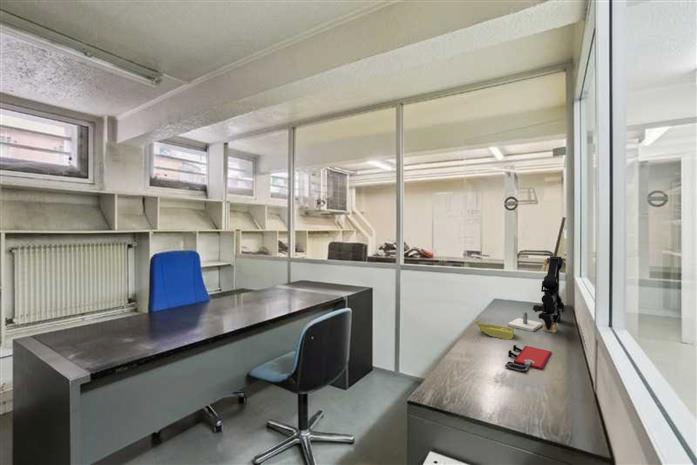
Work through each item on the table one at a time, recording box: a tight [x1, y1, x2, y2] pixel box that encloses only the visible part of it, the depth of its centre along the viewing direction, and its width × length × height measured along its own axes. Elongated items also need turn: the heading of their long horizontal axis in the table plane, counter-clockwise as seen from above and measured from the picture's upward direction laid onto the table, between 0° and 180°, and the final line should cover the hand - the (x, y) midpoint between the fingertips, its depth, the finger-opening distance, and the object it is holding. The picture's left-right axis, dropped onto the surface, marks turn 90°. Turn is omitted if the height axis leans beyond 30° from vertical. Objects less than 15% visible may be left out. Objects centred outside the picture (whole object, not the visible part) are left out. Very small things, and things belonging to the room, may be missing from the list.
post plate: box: [507, 311, 544, 332], centre depth 199 cm, size 15×14×8 cm
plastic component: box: [475, 319, 515, 340], centre depth 187 cm, size 20×7×10 cm
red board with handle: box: [504, 344, 552, 373], centre depth 153 cm, size 30×3×15 cm
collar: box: [542, 322, 559, 333], centre depth 190 cm, size 6×6×4 cm
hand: (550, 328), depth 190 cm, fingers closed on collar, 6 cm apart
